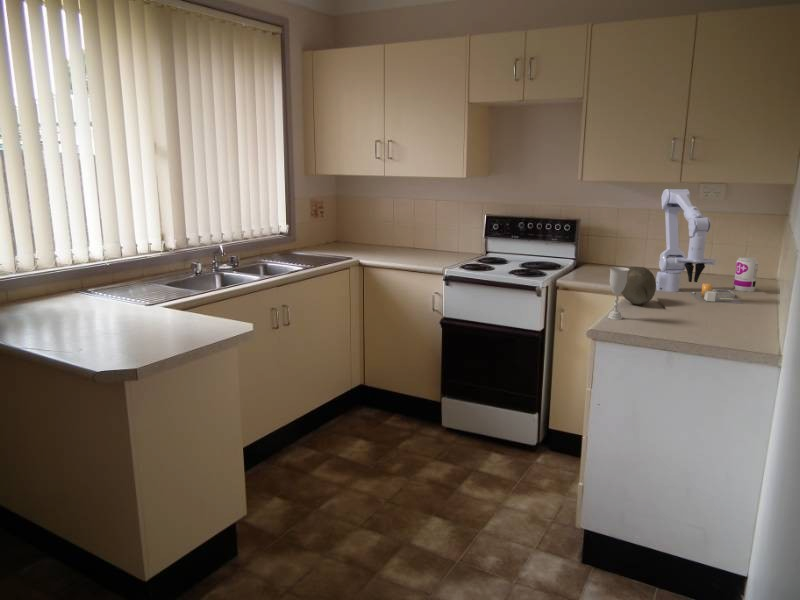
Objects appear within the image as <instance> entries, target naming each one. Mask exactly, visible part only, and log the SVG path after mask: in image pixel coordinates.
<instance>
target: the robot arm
mask: <svg viewBox="0 0 800 600" xmlns="http://www.w3.org/2000/svg"><path fill="white" fill-rule="evenodd" d="M660 199H661V210H663V211H664V212H665V213H664V214H665V216H664V218H665V242H666V244H665V245H666V249H665V250H664V251H662V252H661V253H660V255H659V261H658V268H659V269H660V271H657V273H656V277H655V281H656V291H658V292H672V293H675V292H676V293H677V292H679V291H680V285H681V274H682V273H683V272H684V271H685V270H686V273H687V279H688V282H689V283H692V282H694V283H698V281H699V278H700V276H701V273H702V272H703V271H704V269H705V268H706V265H713V266H715V265H716V259H713V258H704V257H705V256H704V255H705V250H706V249H705V248H706V242H707V241H706V240H707V238H706V237H707V233H708V232H709V231H710V230H711V226H712V225H711V219H710V217H706V216H703V214H702V212H701V211H700V210H699V208H698V207H697V206H693V204H692V202H691V193H690V190H689V189H688V188H685V189H678V188H677V189H675V188H674V189H673V188H672V189H671V188H669V189H668V188H666V189H664V190H663V192H662V194H661V198H660ZM681 211H683V216H684V218H685V220H686V221H687V223H688V226H687V228H688V236H689V242H688V251H687V257H686V254H685V252H684V251H682V250H681V249H680V237H679V236H680V235H679V212H681ZM694 265H695V268H694ZM694 270H695V271H694ZM693 272H694V277H693Z"/></svg>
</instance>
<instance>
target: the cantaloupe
mask: <svg viewBox="0 0 800 600" xmlns="http://www.w3.org/2000/svg"><path fill="white" fill-rule="evenodd" d="M627 268H628V269H629V271H628V275H627V284H626V286H625V288H624V290H623V291H622V293H621V294H620V295H622V296H623V297H624V298H625V300H627V302H629V303H632V304H634V305H637V306H642V305H645V304H647V303H649V302H650V301H651V300H652V299H653V297H654V296H655V295H656V291H657V289H656V277H655V275H654V274H653V272H651V270H650V269H648V268H647V267H644V266H630V267H627Z"/></svg>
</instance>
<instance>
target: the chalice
mask: <svg viewBox="0 0 800 600" xmlns="http://www.w3.org/2000/svg"><path fill="white" fill-rule="evenodd" d="M628 268H629V267H622V266H621V267H620V266H618V267H617V266H612V267H609V268H608V269H609V271H610V273H609V285H610V289H611V291H612V294H614V295H615V298H614V303H613V306H614V308H613V310H612V311H610V312H609V314H608V316H607V318H608V319H609V318H610V320H616V321H617V320H620V321H621V320H623V317H622V313H621V311H619V310H618V307H619V303H618V302H619V295H622V294H621V293H622V291H623V290H624V288H625V286H626V284H627V275H628V271H629V269H628Z"/></svg>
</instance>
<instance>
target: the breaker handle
mask: <svg viewBox="0 0 800 600" xmlns="http://www.w3.org/2000/svg"><path fill="white" fill-rule="evenodd" d="M715 296H716V293H715V292H714V291H712V290H711V291H705V295H704V299H705V300H706V301H714V302H715Z"/></svg>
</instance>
